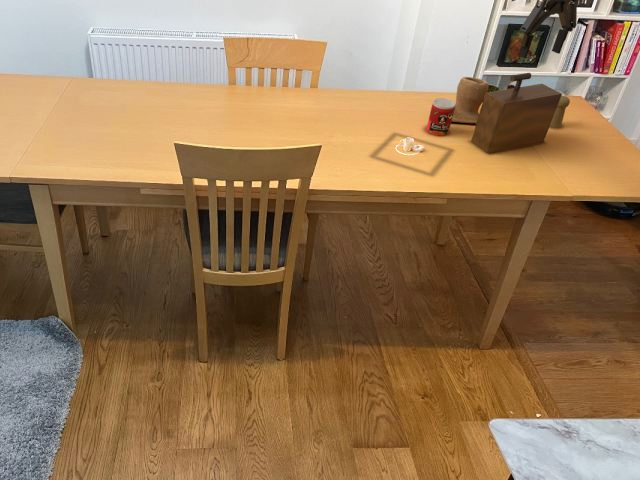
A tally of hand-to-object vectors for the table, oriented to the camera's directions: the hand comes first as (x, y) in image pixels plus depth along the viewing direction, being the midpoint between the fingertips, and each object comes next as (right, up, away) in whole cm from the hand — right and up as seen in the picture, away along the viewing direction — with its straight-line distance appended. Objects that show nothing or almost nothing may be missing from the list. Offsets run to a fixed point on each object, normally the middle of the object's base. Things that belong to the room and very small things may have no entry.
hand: (539, 54), depth 181 cm
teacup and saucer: (-36, -29, +12) cm, 48 cm away
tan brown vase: (-12, -10, +34) cm, 38 cm away
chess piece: (+6, -5, +42) cm, 42 cm away
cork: (+20, -13, +32) cm, 41 cm away
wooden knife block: (+1, -17, +10) cm, 19 cm away
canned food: (-24, -18, +25) cm, 39 cm away
